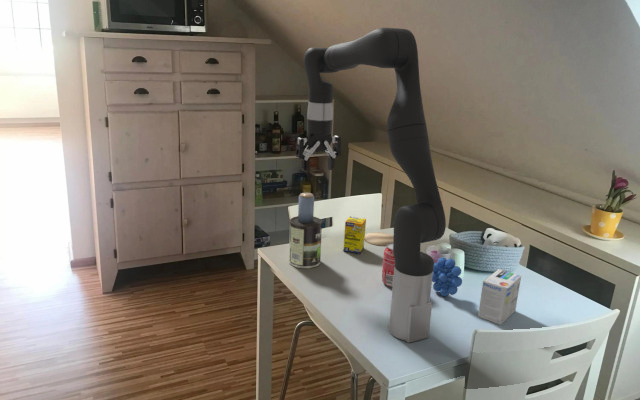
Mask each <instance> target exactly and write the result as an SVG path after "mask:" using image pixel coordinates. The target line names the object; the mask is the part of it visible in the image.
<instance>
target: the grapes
mask: <svg viewBox="0 0 640 400" xmlns="http://www.w3.org/2000/svg"><path fill="white" fill-rule="evenodd" d="M461 274H462V268H461V267H460V266H457V265H456V260H454V259H453V258H448V259H447V258H446V257H439V258H438V260H437V262H434V268H433V277H432V283H433V284H432V289H433V290H434V291H435V292H439V293H440V295H441V297H447V296H449V295H450V296H454V295H456V294H457V293H458V289H459V287H461V286H462V284H463V279H462V278H461V277H460V275H461Z"/></svg>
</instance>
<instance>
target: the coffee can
mask: <svg viewBox="0 0 640 400" xmlns="http://www.w3.org/2000/svg"><path fill="white" fill-rule="evenodd" d="M322 227H323V220H322V219H321V218H320V217H317V216H314V217H313V222H312V223H301V222H299V221H298V215H297V216H293V217H291V218H290V219H289V252H288V253H289V255H288V258H289V259H288V263H289V265H291V266H293V267H294V268H299V269H312V268H313V269H314V268H316V267H319V265H321V262H322V261H321V256H322V255H321V253H322Z"/></svg>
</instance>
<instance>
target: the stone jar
mask: <svg viewBox="0 0 640 400" xmlns="http://www.w3.org/2000/svg"><path fill="white" fill-rule="evenodd" d="M297 207H298V208H297V209H298V210H297V211H298V212H297V216H298V221H299V222H301V223H312V222H313V217H315V216H314V215H315V214H314V213H315V195H314V193H311V192H302V193H300V194H299V195H298V206H297Z"/></svg>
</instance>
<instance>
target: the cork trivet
mask: <svg viewBox="0 0 640 400" xmlns="http://www.w3.org/2000/svg"><path fill="white" fill-rule="evenodd" d="M393 239H394V234H391V233H387V232H382V231H379V232H378V231H377V232H376V231H375V232H374V231H373V232H368V233H365V239H364V242H366V243H367V244H370V245H374V246H381V247H383V246H384V247H385V246H386V247H387V244H389V243H393Z"/></svg>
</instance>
